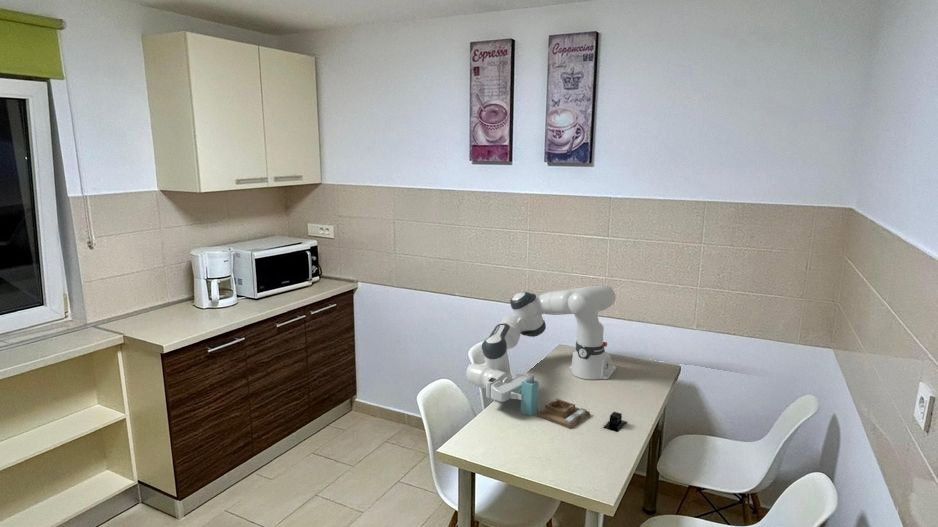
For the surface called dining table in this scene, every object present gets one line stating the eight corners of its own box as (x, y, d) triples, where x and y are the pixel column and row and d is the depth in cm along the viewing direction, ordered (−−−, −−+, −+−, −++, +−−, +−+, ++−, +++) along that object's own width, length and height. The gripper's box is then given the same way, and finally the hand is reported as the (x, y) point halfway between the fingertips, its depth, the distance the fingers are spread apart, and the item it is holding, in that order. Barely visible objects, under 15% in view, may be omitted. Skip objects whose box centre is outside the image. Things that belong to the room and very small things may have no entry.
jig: (557, 403, 209) (557, 394, 208) (589, 415, 200) (590, 405, 199) (536, 416, 198) (537, 406, 198) (569, 428, 189) (570, 418, 188)
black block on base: (618, 436, 185) (619, 424, 185) (598, 430, 190) (598, 417, 189) (631, 422, 195) (631, 410, 194) (611, 416, 200) (612, 405, 199)
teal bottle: (527, 408, 205) (528, 373, 202) (537, 411, 202) (538, 376, 199) (520, 412, 201) (521, 376, 199) (530, 415, 198) (531, 380, 196)
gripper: (516, 382, 217) (545, 392, 208) (483, 399, 202) (513, 410, 193) (516, 367, 216) (545, 377, 207) (484, 383, 201) (513, 393, 192)
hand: (530, 393), depth 200 cm, fingers open, 8 cm apart
